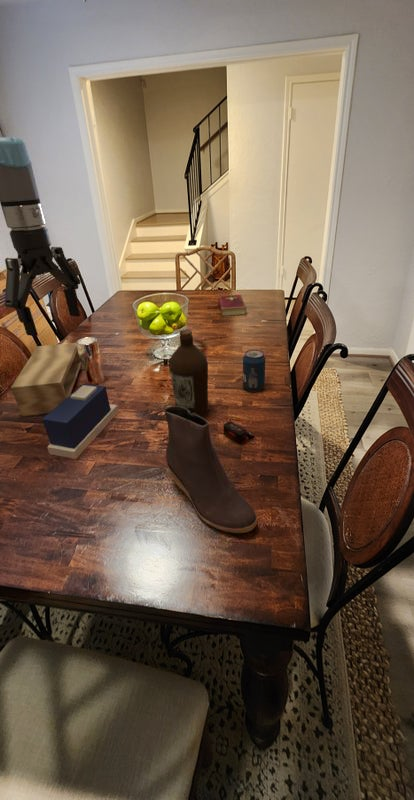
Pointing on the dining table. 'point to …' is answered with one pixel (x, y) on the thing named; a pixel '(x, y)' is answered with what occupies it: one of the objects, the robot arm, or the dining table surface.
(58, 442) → the navy block on base
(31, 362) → the tan long block
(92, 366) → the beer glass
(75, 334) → the dining table surface
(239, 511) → the boot
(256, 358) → the soda can
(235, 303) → the hardcover book
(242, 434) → the wireless earbuds
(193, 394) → the olive oil
